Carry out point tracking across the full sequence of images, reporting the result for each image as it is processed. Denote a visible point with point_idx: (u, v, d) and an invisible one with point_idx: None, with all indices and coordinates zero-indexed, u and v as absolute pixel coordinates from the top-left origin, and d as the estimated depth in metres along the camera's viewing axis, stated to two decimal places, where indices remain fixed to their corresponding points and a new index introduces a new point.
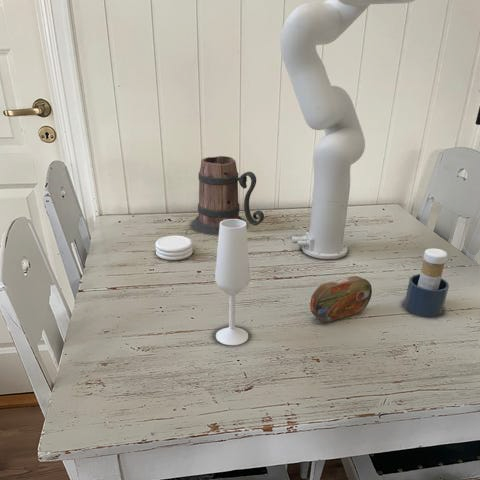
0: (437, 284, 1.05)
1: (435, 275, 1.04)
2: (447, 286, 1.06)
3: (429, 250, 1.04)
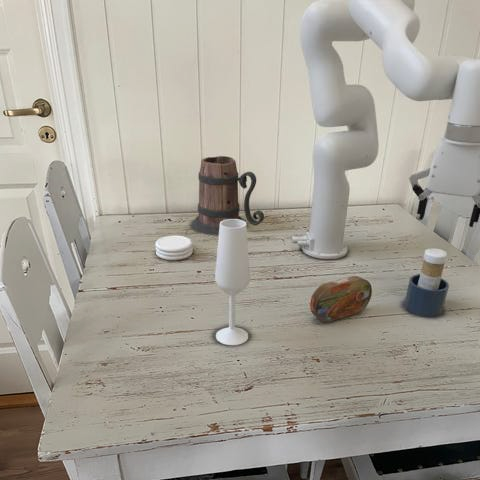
0: (437, 284, 1.05)
1: (435, 275, 1.04)
2: (447, 286, 1.06)
3: (429, 250, 1.04)
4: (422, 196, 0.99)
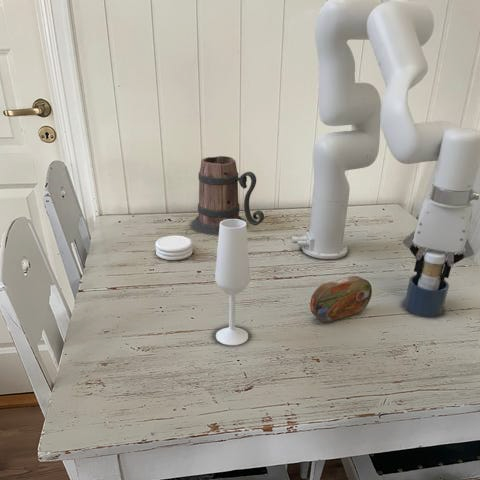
0: (437, 284, 1.05)
1: (435, 275, 1.04)
2: (447, 286, 1.06)
3: (429, 250, 1.04)
4: (419, 256, 1.04)
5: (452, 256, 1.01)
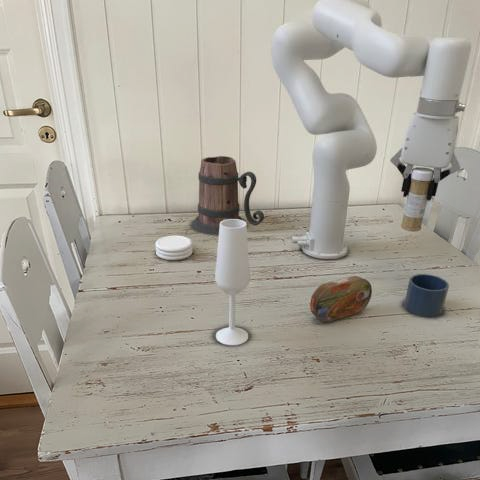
0: (424, 203, 1.07)
1: (422, 193, 1.05)
2: (447, 286, 1.06)
3: (416, 168, 1.05)
4: (406, 174, 1.05)
5: (438, 172, 1.02)
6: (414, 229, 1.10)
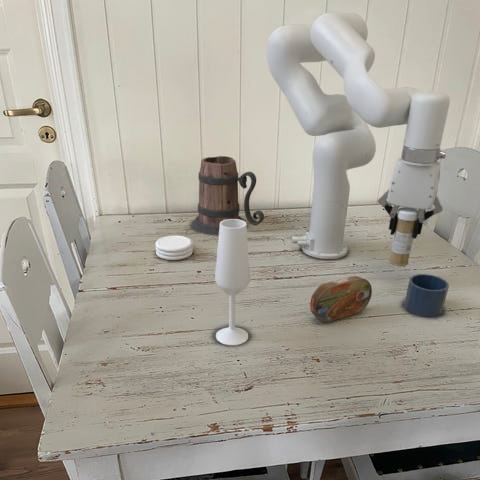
0: (410, 240, 1.14)
1: (408, 231, 1.12)
2: (447, 286, 1.06)
3: (402, 208, 1.12)
4: (393, 214, 1.13)
5: (423, 213, 1.09)
6: (401, 264, 1.17)
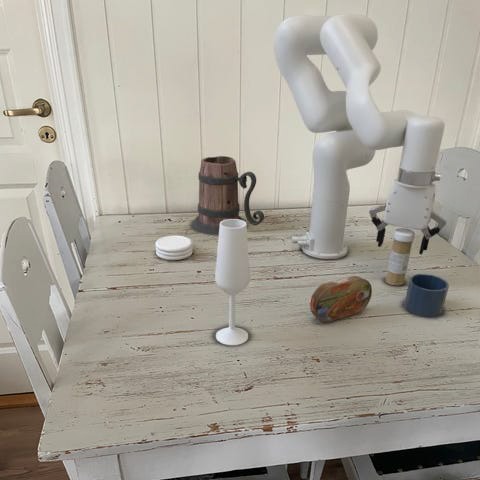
0: (406, 261, 1.16)
1: (404, 252, 1.15)
2: (447, 286, 1.06)
3: (398, 229, 1.15)
4: (380, 227, 1.15)
5: (426, 230, 1.11)
6: (397, 283, 1.19)
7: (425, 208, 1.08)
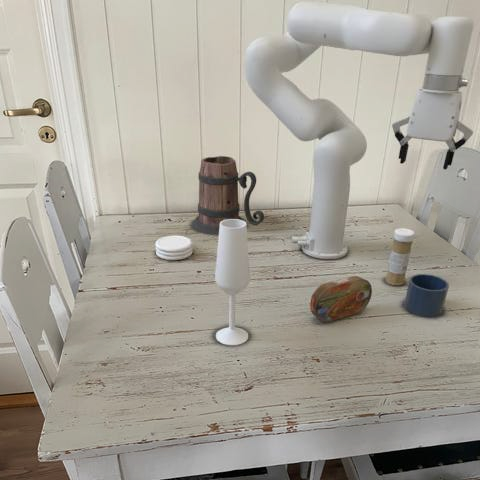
0: (406, 261, 1.16)
1: (404, 252, 1.15)
2: (447, 286, 1.06)
3: (398, 230, 1.15)
4: (403, 141, 1.12)
5: (451, 141, 1.07)
6: (397, 283, 1.19)
7: (451, 116, 1.04)
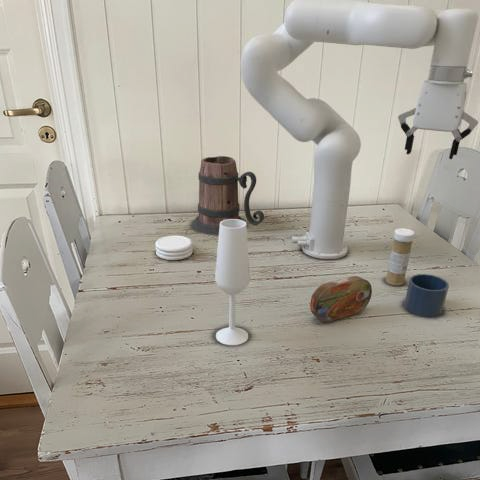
0: (406, 261, 1.16)
1: (404, 252, 1.15)
2: (447, 286, 1.06)
3: (398, 230, 1.15)
4: (409, 133, 1.14)
5: (456, 131, 1.10)
6: (397, 283, 1.19)
7: (457, 107, 1.07)
